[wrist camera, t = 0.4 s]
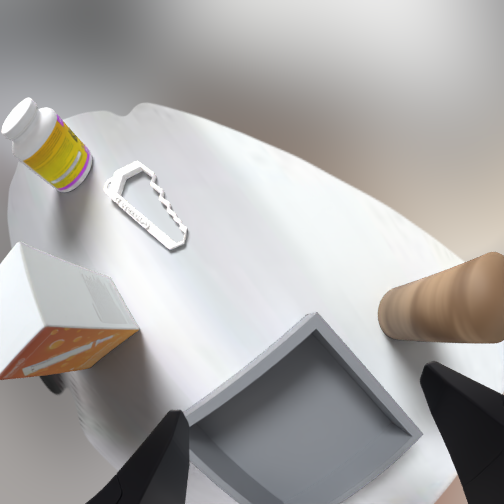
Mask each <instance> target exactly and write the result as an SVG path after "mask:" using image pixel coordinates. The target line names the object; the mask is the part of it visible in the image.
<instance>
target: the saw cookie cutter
mask: <svg viewBox="0 0 504 504" xmlns="http://www.w3.org/2000/svg"><path fill="white" fill-rule="evenodd" d="M142 171H144V172H145V173H147V174H148V175H149V176H151V177H152V180H151V183H150V185H151V187H152V188H153V189H155V190H156V191H157V192H159V193H160V197H159V200H160V201H161V202H162V203H163V204H164V205H166V206H167V212H168V213H169V214H170V215H171V216H173V217H174V218H173V219H174V221H175V222H177V223H178V224H179V225H180V227H179V228H180V230H182V231H183V232H184V233H185V234H184V239H183V240H182V241H180V242H177V243H176V242H174V241H173V240H172V239H171V238H169V237H168V236H167V235H166V234H165V233H163V232H162V231H161V230H160V229H159V228H157V227H156V226H155V225H154V224H153V223H151V222H150V221H149V220H148V219H147V218H146V217H144V216H143V215H142V214H141V213H140V212H138V211H137V210H136V209H135V208H134V207H133V206H131V205H130V204H129V203H128V202H127V201H126V200H125V199H123V198H122V197H121V195H122V191H123V188H124V185H125V182H126V179H128V178H130V177H132V176H134V175H136V174H138V173H140V172H142ZM156 177H157V176H156V175H155V173H154V172H152V171H151V170H150V169H148V168H147V167H146V166H144V165H143V164H141V163H140V162H139V161H135V162H133V163H131V164H129V165H127V166H125V167H123V168H121V169H119V170H117V171H115V172H114V175H113V177H112V178H110V179H108V180H107V181H106V183H105V184H104V192H105V193H106V194H107V195H108V196H109V197H110V198H111V199H112V200H113V201H114V202H115V203H117V204H118V205H119V206H120V207H121V208H122V209H123V210H124V211H125V212H127V213H128V214H129V215H130V216H131V217H132V218H133V219H135V220H136V221H137V222H138V223H139V224H140V225H141V226H142V227H144V228H145V229H146V230H147V231H148V232H149V233H151V234H152V235H153V236H154V237H155V238H156V239H158V240H159V241H160V242H161V243H162V244H163V245H165V246H166V247H167V248H168V249H169V250H172V249H174V248H177V247H179V246H181V245H184V244H185V240H186V234H187V227H185V226H184V225H183V224H182V221H181V220H180V219H179V218H178V217H177V214H176V213H175V212H174V211H172V210H171V204H170V203H169V202H168V201H167V200H165V199H164V198H163V196H164V193H165V192H164V191H163V189H161V188H160V187H159V186H157V185H156V184H155V180H156ZM109 183H111V185H110V188H109V190H108V185H109Z"/></svg>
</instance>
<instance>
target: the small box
mask: <svg viewBox="0 0 504 504" xmlns="http://www.w3.org/2000/svg"><path fill="white" fill-rule="evenodd" d="M137 331H139V327H138V325H137V323H136V322H135V320H134V318H133V317H132V315H131V313H130V312H129V310H128V308H127V306H126V305H125V303H124V301H123V299H122V297H121V296H120V294H119V292H118V290H117V288H116V286H115V285H114V283H113V281H112V279H111V278H110V277H108V276H105V275H102V274H100V273H97V272H94V271H91V270H89V269H86V268H84V267H81V266H78V265H75V264H73V263H70V262H68V261H65V260H63V259H60V258H58V257H55V256H53V255H50V254H48V253H45V252H43V251H41V250H38V249H36V248H34V247H31V246H29V245H27V244H25V243H23V242H21V241H20V242H18V243H17V244H16V245H15V246H14V247H13V249H12V250H11V251H10V252H9V254H8V255H7V256H6V257H5V259H4V260H3V261H2V263H1V264H0V380H4V379H14V378H24V377H33V376H42V375H50V374H57V373H63V372H70V371H77V370H83V369H88V368H91V367H92V366H93V365H94V364H95V363H96V362H97V361H99V360H100V359H101V358H102V357H104V356H105V355H106V354H108V353H109V352H110V351H111V350H113V349H114V348H115V347H117V346H118V345H119V344H121V343H122V342H123V341H125V340H126V339H127V338H129V337H130V336H132V335H133V334H134V333H136V332H137Z"/></svg>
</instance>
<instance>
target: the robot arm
mask: <svg viewBox="0 0 504 504" xmlns="http://www.w3.org/2000/svg"><path fill="white" fill-rule="evenodd" d="M420 384H421V386H422V389H423V392H424V395H425V397H426V400H427V403H428V406H429V409H430V411H431V414H432V416H433V418H434V420H435V423H436V425H437V427H438V429H439V431H440V433H441V436H442V438H443V440H444V442H445V445H446V447H447V449H448V452H449V454H450V456H451V459H452V461H453V464H454V466H455V469H456V471H457V474H458V476H459V479H460V482H461V484H462V486H463V490H464V493H465V496H466V499H467V502H468V504H504V395H503V394H500V393H498V392H496V391H494V390H492V389H490V388H488V387H486V386H484V385H482V384H480V383H478V382H476V381H474V380H472V379H470V378H468V377H466V376H464V375H462V374H460V373H458V372H456V371H454V370H452V369H450V368H448V367H446V366H444V365H442V364H440V363H438V362H436V361H432V362H430V363H427V364H426V365H425V366H424V369H423V372H422V375H421V378H420ZM188 471H189V423H188V421H187V419H186V417H185V415H184V413H183V412H182V411H181V410H170V411H169V412H168V413H167V414H166V416H165V417H164V418H163V419H162V420H161V422H160V423H159V424H158V425H157V426H156V428H155V429H154V430H153V431H152V433H151V434H150V435H149V436H148V437H147V439H146V440H145V441H144V442H143V443H142V445H141V446H140V447H139V448H138V449H137V450H136V452H135V453H134V454H133V455H132V456H131V458H130V459H129V460H128V461H127V462H126V463H125V464H124V466H123V467H122V468H121V469H120V470H119V471H118V473H117V475H115V476H114V477H113V478H112V479H111V481H110V482H109V483H108V484H107V485H106V486H105V487H104V488H103V489H102V490H101V491H100V492H99V493H97V495H95V496H94V497H93V498H92V499H91V500H89V501H88V502H87V503H86V504H185V498H186V489H187V480H188Z"/></svg>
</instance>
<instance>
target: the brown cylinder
mask: <svg viewBox="0 0 504 504" xmlns="http://www.w3.org/2000/svg"><path fill="white" fill-rule="evenodd" d="M378 321H379V324H380V327H381V329H382V330H383V332H384V333H385V334H386V335H387V336H388V337H390V338H393V339H397V340H409V341H424V342H444V343H499V342H501V341H503V340H504V256H503V255H502V254H499V253H497V252H490V253H487V254H485V255H482V256H480V257H477V258H475V259H473V260H470V261H468V262H465V263H463V264H460V265H458V266H455V267H452V268H450V269H447V270H444V271H442V272H439V273H436V274H434V275H431V276H428V277H425V278H422V279H420V280H417V281H414V282H411V283H408V284H405V285H402V286H399V287H396V288H393V289H391V290H389V291H388V292H387V293H386V294H385V295H384V296H383V298H382V300H381V302H380V304H379V308H378Z"/></svg>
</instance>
